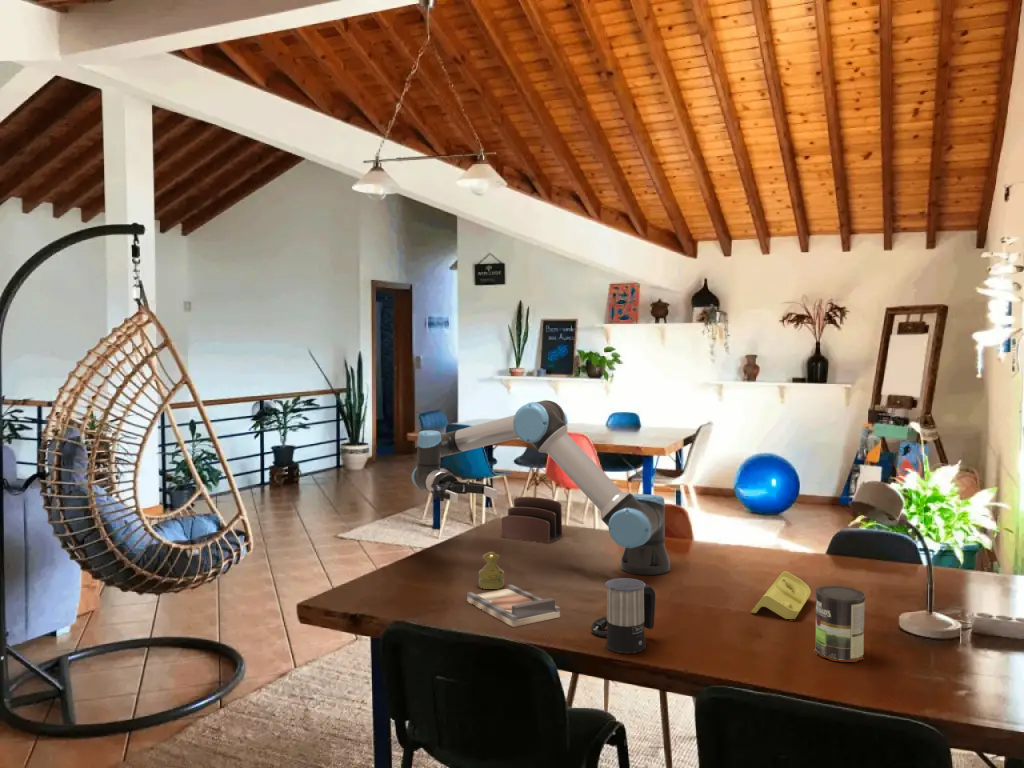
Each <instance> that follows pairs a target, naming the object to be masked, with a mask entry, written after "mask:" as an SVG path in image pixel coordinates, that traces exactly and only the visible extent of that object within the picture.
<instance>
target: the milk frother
mask: <svg viewBox="0 0 1024 768" xmlns="http://www.w3.org/2000/svg"><path fill="white" fill-rule="evenodd" d="M605 586H606V615H605V616H602V617H600V618H598V619H596V620H595V621H594V622H593V623H592V624H591V626H590V627H591V632H592V633H593V634H594V635H596V636H599V637H606V642H605V647H606V649H608V650H610V651H612V652H614V653H618V654H619V653H620V654H637V653H641V652H643V651H644V650H646V647H647V644H646V636H645V634H646V633H645V632H646V631H645V629H648V630H652V629H654V626H655V613H656V612H655V611H656V610H655V609H656V593H655V592H656V591H655V590H654V588H653V587H652V586H651V585H648V584H646V583H645V582H644V581H643V580H639V579H635V578H628V577H627V578H626V577H623V578H622V577H621V578H620V577H619V578H618V577H617V578H613V579H610V580H607V581H606V582H605ZM605 629H606V630H605ZM642 650H643V651H642ZM636 652H637V653H636Z"/></svg>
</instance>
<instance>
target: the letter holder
mask: <svg viewBox="0 0 1024 768" xmlns="http://www.w3.org/2000/svg"><path fill="white" fill-rule="evenodd" d="M562 508H563V507H562V504H561V502H559V501H557V500H554V499H549V498H542V497H534V496H519V497H518V496H517V497H515V498H514V499H513V506H511V507H509V508H508V510H507V515H504V516H502V518H501V538H503V537H509V538H508V539H510V538H516V539H515V540H517V539H523V540H522V541H525V540H529V541H528V542H532V541H536V542H535V543H539V542H543V543H542V544H547V543H550V544H552V543H555V542H557V541H559V540H561V539H563V523H562V522H563V519H562V518H563V517H562ZM560 538H561V539H560ZM558 539H559V540H558ZM556 540H557V541H556ZM554 541H555V542H554Z"/></svg>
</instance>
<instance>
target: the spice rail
mask: <svg viewBox="0 0 1024 768" xmlns="http://www.w3.org/2000/svg"><path fill="white" fill-rule="evenodd" d="M506 585H507V588H504V589H503V588H501V589H497V590H491V591H487V592H482V593H474V592H472V591H469V592H466V602H467V601H468V602H467V603H469V604H470V605H472V604H473V605H472V606H474V605H475V606H474V607H476V608H478V609H480V610H481V609H482V611H483V612H485V613H487V614H489V615H491V616H492V617H495V618H496V619H497V620H499V621H501V622H503V623H505V624H507V625H508V626H510V627H512V628H516V627H521V626H525V625H529V624H530V625H531V624H534V623H538V622H539V623H541V622H543V621H547V620H552V619H558V618H560V617H561V607H560V606H558V605H556V600H555V599H554V598H551V597H550V598H549V597H548V598H541V597H540V596H537V595H534V594H532V593H530V592H529V591H526V590H523V589H522V588H520V587H517V586H515V585H513V584H506Z"/></svg>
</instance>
